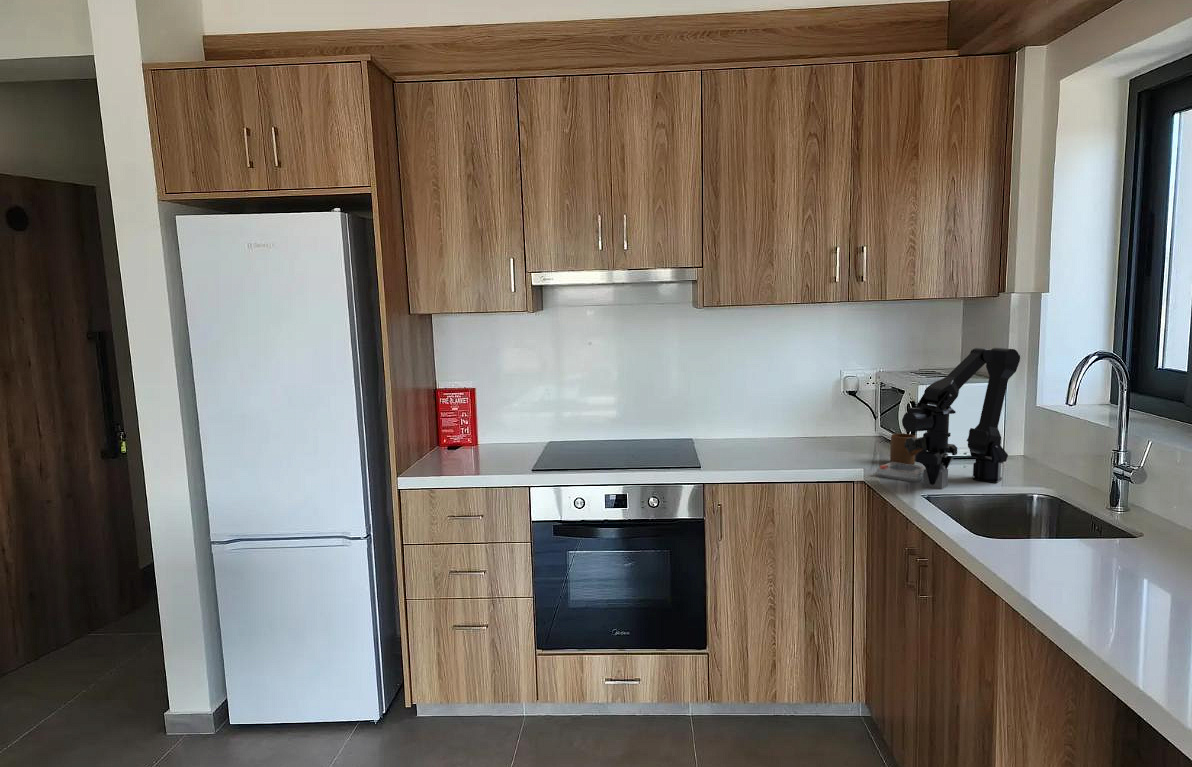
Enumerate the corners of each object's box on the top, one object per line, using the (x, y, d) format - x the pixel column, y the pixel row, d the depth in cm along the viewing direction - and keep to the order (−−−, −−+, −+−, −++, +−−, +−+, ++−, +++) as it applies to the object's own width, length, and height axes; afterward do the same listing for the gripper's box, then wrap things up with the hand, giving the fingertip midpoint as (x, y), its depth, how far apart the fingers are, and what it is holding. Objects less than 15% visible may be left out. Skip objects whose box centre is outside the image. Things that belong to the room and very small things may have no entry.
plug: (947, 485, 215) (948, 466, 215) (941, 489, 212) (942, 469, 211) (928, 483, 219) (929, 463, 218) (922, 486, 215) (923, 466, 214)
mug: (931, 467, 238) (932, 438, 237) (914, 470, 235) (915, 440, 234) (901, 460, 249) (902, 432, 248) (884, 462, 245) (885, 434, 244)
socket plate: (930, 474, 228) (930, 465, 228) (916, 482, 220) (917, 472, 219) (891, 468, 236) (891, 459, 236) (876, 476, 228) (876, 466, 227)
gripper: (919, 422, 225) (917, 472, 227) (897, 431, 212) (895, 484, 214) (959, 426, 218) (956, 478, 220) (938, 435, 204) (935, 490, 206)
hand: (935, 482), depth 215 cm, fingers closed on plug, 5 cm apart
